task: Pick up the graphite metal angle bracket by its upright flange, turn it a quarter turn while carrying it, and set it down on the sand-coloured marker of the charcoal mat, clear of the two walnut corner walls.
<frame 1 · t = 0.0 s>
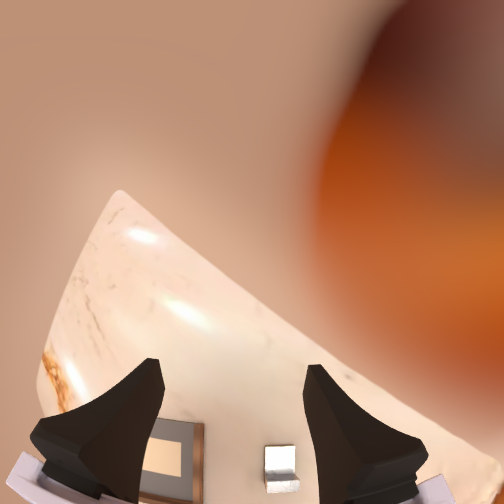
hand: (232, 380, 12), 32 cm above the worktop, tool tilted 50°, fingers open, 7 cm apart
angle bracket: (279, 464, 33), on the worktop
corner walls: (160, 461, 32), resting on corner mat
corner mat: (160, 461, 32), on the worktop
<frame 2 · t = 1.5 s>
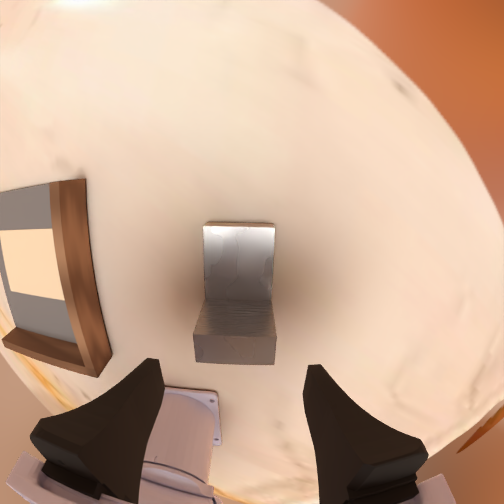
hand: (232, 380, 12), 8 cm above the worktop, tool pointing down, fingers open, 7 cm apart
angle bracket: (239, 271, 19), on the worktop
corner walls: (39, 272, 19), resting on corner mat
corner mat: (39, 272, 19), on the worktop
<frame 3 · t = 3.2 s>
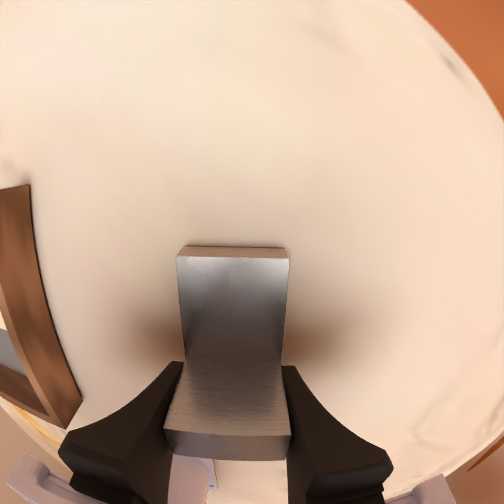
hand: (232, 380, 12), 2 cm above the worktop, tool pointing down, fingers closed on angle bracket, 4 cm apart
angle bracket: (234, 316, 13), on the worktop, touching gripper
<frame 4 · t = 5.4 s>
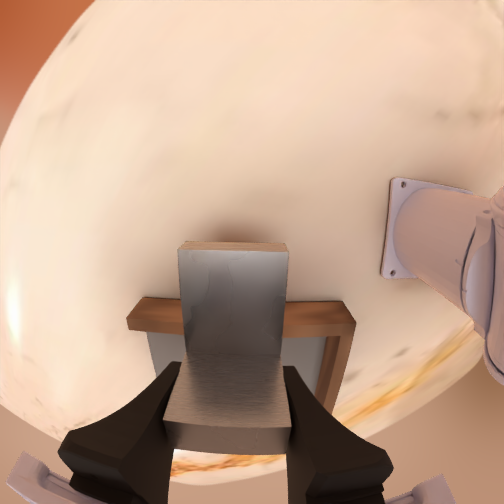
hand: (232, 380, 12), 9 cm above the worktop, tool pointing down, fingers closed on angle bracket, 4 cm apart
angle bracket: (234, 311, 13), point 7 cm above the worktop, touching gripper
corner walls: (241, 370, 22), resting on corner mat
corner mat: (241, 370, 22), on the worktop
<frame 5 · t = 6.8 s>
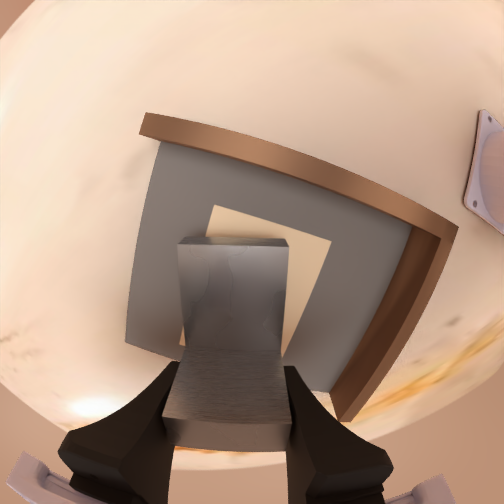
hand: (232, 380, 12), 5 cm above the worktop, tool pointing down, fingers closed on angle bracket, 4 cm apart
angle bracket: (234, 307, 13), point 2 cm above the worktop, touching gripper
corner walls: (271, 284, 15), resting on corner mat
corner mat: (271, 284, 15), on the worktop
when the fingers open (4 cm above the worktop, at t = 7.9 s): angle bracket stays where it is, resting on corner mat.
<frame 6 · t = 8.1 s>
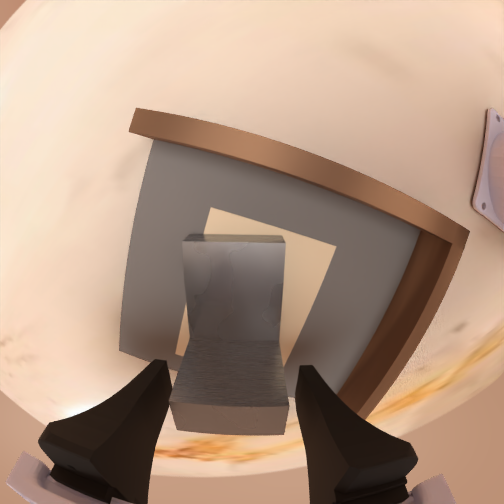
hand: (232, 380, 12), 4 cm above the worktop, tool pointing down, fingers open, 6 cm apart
angle bracket: (235, 300, 14), resting on corner mat
corner walls: (271, 292, 15), resting on corner mat
corner mat: (271, 292, 15), on the worktop
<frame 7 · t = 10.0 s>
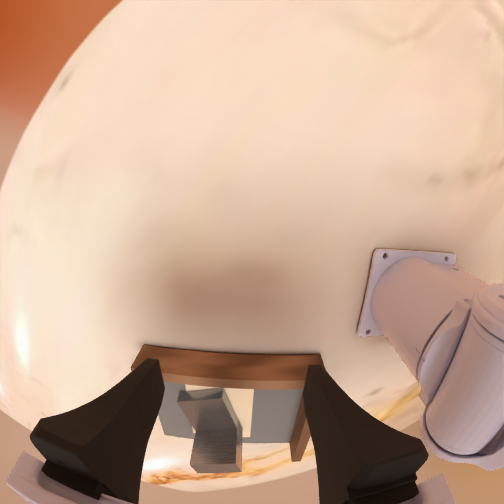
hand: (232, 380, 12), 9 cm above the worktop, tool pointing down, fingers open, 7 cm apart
angle bracket: (212, 411, 24), resting on corner mat
corner walls: (230, 404, 24), resting on corner mat
corner mat: (230, 404, 24), on the worktop
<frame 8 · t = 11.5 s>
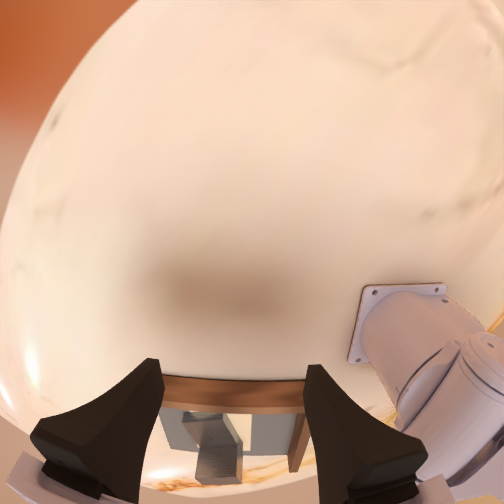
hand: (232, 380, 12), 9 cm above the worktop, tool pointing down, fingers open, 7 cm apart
angle bracket: (214, 429, 25), resting on corner mat
corner walls: (230, 423, 25), resting on corner mat
corner mat: (230, 423, 25), on the worktop
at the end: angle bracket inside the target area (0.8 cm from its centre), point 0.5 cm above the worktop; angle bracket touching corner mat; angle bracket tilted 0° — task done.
